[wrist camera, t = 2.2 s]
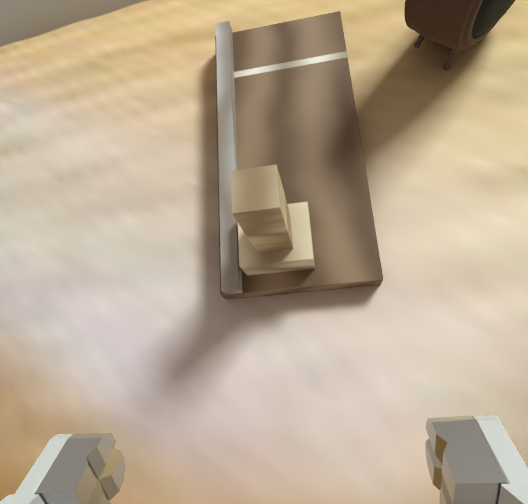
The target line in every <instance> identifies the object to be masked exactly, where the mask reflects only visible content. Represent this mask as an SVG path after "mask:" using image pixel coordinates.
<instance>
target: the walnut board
mask: <svg viewBox="0 0 528 504" xmlns="http://www.w3.org/2000/svg"><path fill="white" fill-rule="evenodd" d="M215 40H216V91H217V142H218V193H219V245H220V295H222V296H223V297H224V298H226V299H232V298H243V297H254V296H265V295H275V294H286V293H297V292H308V291H318V290H329V289H340V288H351V287H361V286H372V285H381V283H382V281H383V275H382V269H381V263H380V256H379V250H378V244H377V238H376V232H375V225H374V219H373V213H372V207H371V201H370V194H369V188H368V182H367V176H366V170H365V163H364V157H363V151H362V145H361V139H360V132H359V126H358V120H357V114H356V108H355V101H354V95H353V89H352V83H351V77H350V70H349V64H348V58H347V52H346V46H345V39H344V33H343V27H342V21H341V15H340V11H339V12H334V13H329V14H324V15H319V16H314V17H309V18H304V19H299V20H294V21H289V22H284V23H279V24H274V25H269V26H264V27H259V28H254V29H249V30H244V31H239V32H233V33H232V29H231V26H230V23H229V21H227V22H222V23H217V24H216V36H215ZM276 164H277V168H278V171H279V175H280V179H281V182H282V186H283V190H284V193H285V197H286V200H287V204H292V203H300V202H308V209H309V215H310V224H311V234H312V244H313V254H314V263H315V269H307V270H297V271H287V272H277V273H268V274H258V275H248V276H247V275H246V273H245V272H244V271H243V270H242V269H241V268H240V266H239V241H238V222H237V220H236V219H235V217H234V216H233V214H232V193H231V171H235V170H242V169H249V168H255V167H262V166H269V165H276Z"/></svg>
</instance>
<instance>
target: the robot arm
mask: <svg viewBox="0 0 528 504" xmlns="http://www.w3.org/2000/svg"><path fill="white" fill-rule="evenodd" d="M426 430H427V433H428V436H429V439H428V440H427V441H426V458H427V465H428V469H429V473H430V476H431V479H432V482H433V485H434V486H436V487H437V488H438V489H439V490H440V504H528V467H527V466H526V464H525V462H524V460H523V459H522V457H521V455H520V453H519V452H518V450H517V448H516V447H515V445H514V443H513V441H512V440H511V438H510V436H509V435H508V433H507V431H506V429H505V428H504V426H503V424H502V423H501V421H500V419H499V418H498V417H497V416H495V415H488V416H472V417H471V416H459V417H442V418H428V420H427V424H426ZM115 443H116V440H115V438H114V436H113V435H112V433H96V434H57V435H55V436H54V437H53V438H52V439H50V441H49V442H48V444H47V445H46V447H45V448H44V450H43V451H42V453H41V454H40V456H39V458H38V459H37V461H36V462H35V464H34V465H33V467H32V468H31V470H30V471H29V473H28V474H27V476H26V477H25V479H24V480H23V482H22V483H21V485H20V486H19V488H18V490H17V491H16V493H15V494H14V495H8V496H7V497H5V498H4V499H3V500H2V501H0V504H111V502H110V500H111V499H112V498H113V497H114V496H115V495H116V494H117V493H118V492H119V491H120V488H121V486H122V483H123V481H124V475H125V468H126V467H125V460H124V457H123V455H122V453H121V452H120V451H118V450H117V449H115V448H114V446H115Z"/></svg>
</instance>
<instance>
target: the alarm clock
mask: <svg viewBox="0 0 528 504" xmlns="http://www.w3.org/2000/svg"><path fill="white" fill-rule="evenodd" d="M514 1H515V0H406V1H405V21H406V24H407V26H408V27H409V28H411V29H412V30H414V31H416V32H418V33H419V34H420V36H419V38H418V41H417V42H416V43H415V44H414V46H415V48H418V47H419V46H420V43H421V42H422V40H423V39H424V38H426V39H428V40H430V41H432V42H434V43H436V44H440V45H443V46H446V47H449V48H452V49H451V52H450V55H449V57H448V60H447V63H446V64H445V65H444V66H443V68H444V69H445V70H448V69H449V68H450V66H451V65H450V64H451V63H452V62H453V60H454V59H455V58H456V56H457V55H458V54H459V52H460V51H466V50H467V49H469V48H470V47H472V46H473V45H474V44H476V43H477V42H479V41H480V40H481V39H482V38H483V37H485V36H486V35H487V33H488V32H489V31H490V30H491V29H492V28H493V27H494V26H495V24H496V23H497V22H498V21H499V19H500V18H501V17H502V16H503V15H504V14H505V13H506V11H507V10H508V9H509V8H510V6H511V5H512V4H513V3H514Z"/></svg>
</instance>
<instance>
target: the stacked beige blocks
mask: <svg viewBox="0 0 528 504" xmlns="http://www.w3.org/2000/svg"><path fill="white" fill-rule="evenodd" d="M231 193H232V214H233V216H234V217H235V219H236V220H237V222H238V241H239V266H240V268H241V269H242V270H243V271H244V272H245V273H246V275H247V276H248V275H258V274H268V273H277V272H287V271H297V270H307V269H315V263H314V254H313V244H312V234H311V224H310V215H309V209H308V202H300V203H292V204H287V200H286V197H285V193H284V190H283V186H282V182H281V179H280V175H279V171H278V168H277V164H276V165H269V166H262V167H255V168H249V169H242V170H235V171H231Z"/></svg>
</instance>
